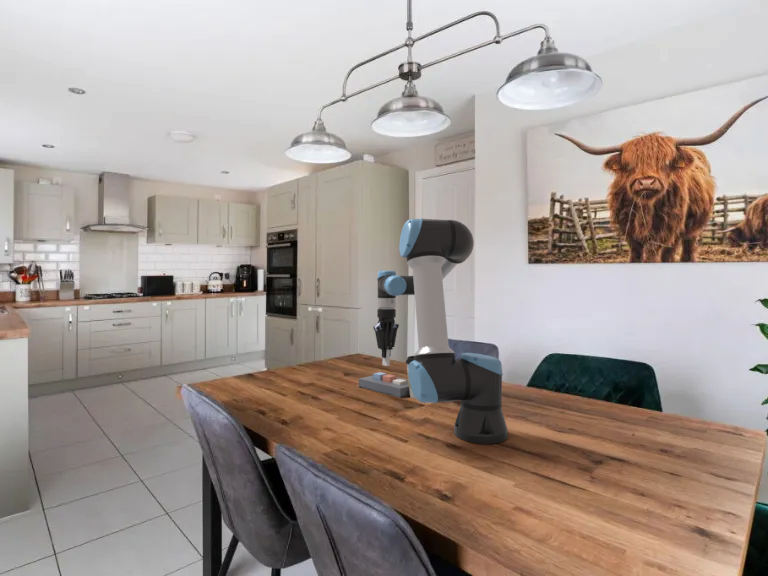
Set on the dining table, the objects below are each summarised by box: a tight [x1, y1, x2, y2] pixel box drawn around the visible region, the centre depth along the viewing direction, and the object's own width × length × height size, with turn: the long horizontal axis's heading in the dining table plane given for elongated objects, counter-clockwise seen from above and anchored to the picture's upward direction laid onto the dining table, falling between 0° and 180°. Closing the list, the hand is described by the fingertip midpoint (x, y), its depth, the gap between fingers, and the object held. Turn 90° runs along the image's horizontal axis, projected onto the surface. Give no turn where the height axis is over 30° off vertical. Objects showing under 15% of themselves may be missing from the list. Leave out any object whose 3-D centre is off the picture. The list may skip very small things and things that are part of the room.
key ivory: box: [393, 378, 408, 385], centre depth 172 cm, size 4×4×2 cm
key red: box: [383, 373, 398, 383], centre depth 176 cm, size 4×4×2 cm
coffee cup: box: [405, 355, 417, 400], centre depth 165 cm, size 10×10×15 cm
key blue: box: [372, 371, 388, 380], centre depth 179 cm, size 4×4×2 cm
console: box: [358, 375, 410, 399], centre depth 176 cm, size 13×23×4 cm, turn 46°
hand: (386, 365), depth 178 cm, fingers closed
